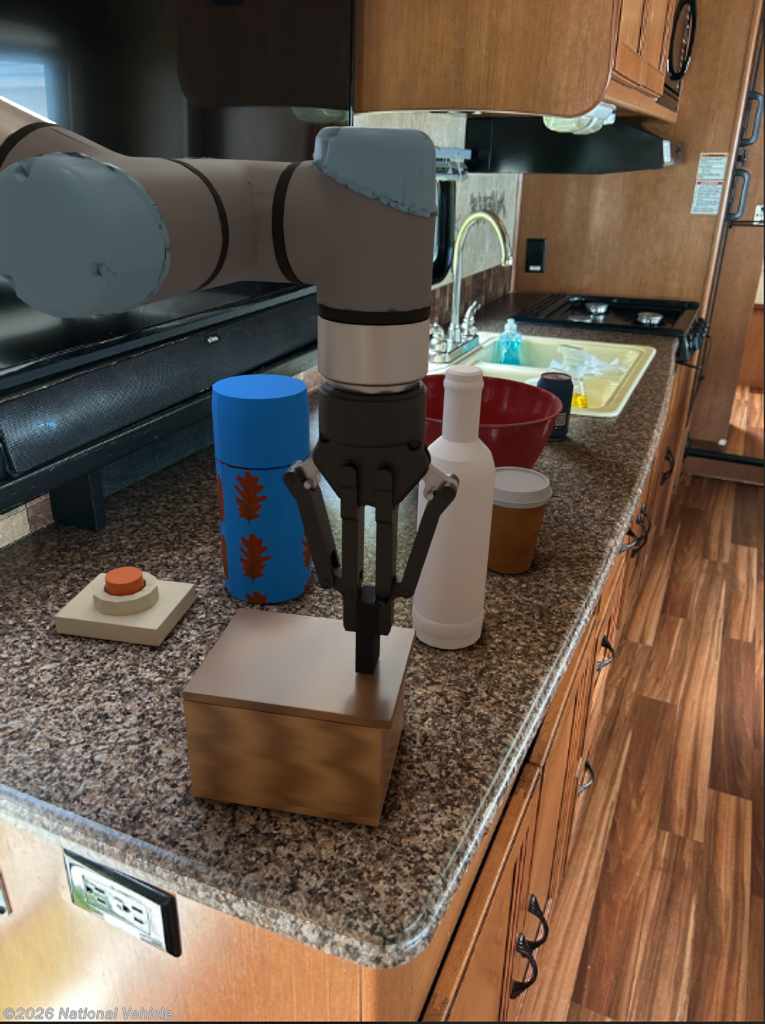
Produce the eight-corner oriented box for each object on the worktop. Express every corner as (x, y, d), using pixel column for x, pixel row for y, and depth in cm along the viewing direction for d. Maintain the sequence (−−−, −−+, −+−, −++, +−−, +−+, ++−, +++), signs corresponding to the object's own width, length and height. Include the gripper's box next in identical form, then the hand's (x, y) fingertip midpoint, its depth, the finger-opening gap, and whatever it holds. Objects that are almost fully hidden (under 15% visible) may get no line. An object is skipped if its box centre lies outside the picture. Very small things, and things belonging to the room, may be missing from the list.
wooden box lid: (416, 636, 68) (416, 628, 68) (391, 730, 57) (391, 721, 56) (239, 614, 71) (239, 607, 70) (182, 700, 59) (181, 691, 59)
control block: (56, 633, 85) (50, 601, 83) (103, 588, 94) (98, 559, 92) (158, 646, 83) (154, 615, 81) (196, 599, 92) (193, 570, 90)
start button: (100, 595, 85) (97, 581, 84) (117, 577, 89) (116, 564, 88) (133, 599, 85) (131, 585, 84) (150, 581, 88) (148, 568, 87)
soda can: (525, 431, 152) (531, 372, 147) (556, 429, 154) (563, 370, 149) (541, 443, 146) (548, 381, 141) (574, 440, 148) (582, 379, 143)
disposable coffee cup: (529, 587, 96) (539, 499, 91) (459, 568, 100) (465, 483, 95) (552, 557, 104) (563, 474, 99) (486, 540, 108) (493, 460, 103)
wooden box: (403, 724, 72) (407, 636, 68) (377, 827, 61) (380, 729, 57) (245, 701, 75) (239, 615, 71) (192, 796, 63) (182, 700, 59)
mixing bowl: (508, 451, 142) (516, 369, 135) (584, 515, 117) (598, 417, 110) (359, 462, 135) (360, 375, 128) (405, 532, 110) (409, 428, 103)
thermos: (297, 609, 90) (292, 402, 80) (211, 599, 92) (195, 395, 81) (320, 566, 100) (319, 377, 90) (242, 557, 102) (231, 371, 91)
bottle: (397, 630, 87) (406, 367, 74) (440, 604, 92) (456, 355, 79) (453, 660, 82) (473, 383, 69) (496, 630, 87) (522, 369, 75)
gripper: (472, 372, 55) (452, 648, 65) (296, 360, 57) (303, 629, 67) (462, 400, 48) (442, 703, 58) (264, 385, 50) (276, 680, 60)
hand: (367, 663), depth 62 cm, fingers closed
